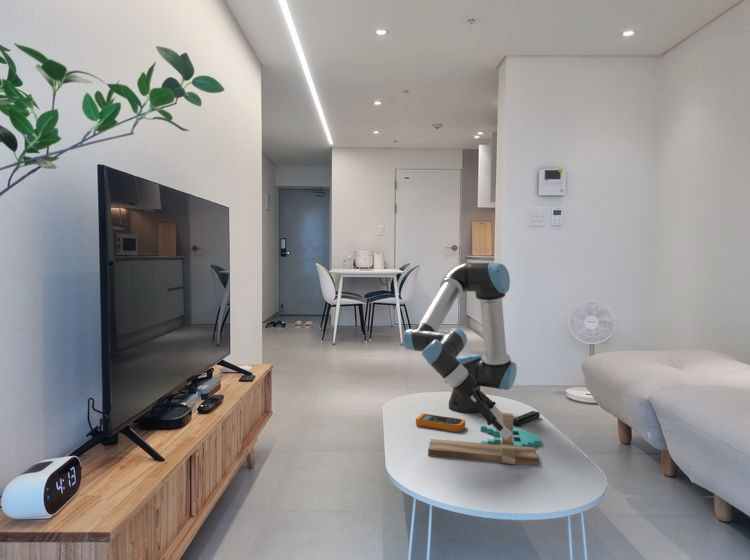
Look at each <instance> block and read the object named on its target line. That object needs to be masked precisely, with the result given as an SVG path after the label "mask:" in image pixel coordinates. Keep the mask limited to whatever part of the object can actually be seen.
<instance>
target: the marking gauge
mask: <svg viewBox="0 0 750 560" xmlns="http://www.w3.org/2000/svg"><path fill="white" fill-rule="evenodd" d="M502 413H503V424H504V425H505V426H506V428H507V429H508V430H509V431H510V432H511V433H512V435H511V436H510V437H508V438H507V439H506V440H505V439H504V438H503V436H502V438H500V437H499V438H500V447H501V454H502V462H501V464H511V465H515V464H516V463H515V446H514V441H513V427H514V426H513V419H514V413H511V412H510V413H508V412H502Z"/></svg>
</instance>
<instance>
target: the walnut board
mask: <svg viewBox="0 0 750 560" xmlns="http://www.w3.org/2000/svg"><path fill="white" fill-rule="evenodd" d="M428 445H429V446H428V450H427V456H431V457H440V456H441V457H442V458H453V459H462V460H463V459H465V460H475V461H487V462H497V463H502V454H501V447H500V445H498V444H486V443H481V442H472V441H460V440H450V439H448V440H447V439H435V438H431V439H430V441H429V444H428ZM515 464H520V465H530V466H531V465H532V466H539V456H538V454H537V451H536V448H534V447H522V446H515Z"/></svg>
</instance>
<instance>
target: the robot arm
mask: <svg viewBox="0 0 750 560" xmlns="http://www.w3.org/2000/svg"><path fill="white" fill-rule="evenodd" d="M510 277H511V276H510V274H509V271H508V269H507V267H506V265H505V264H503V263H501V262H500V263H498V262H497V263H496V262H464V263H462V264H459V265H458V266H457V265H456V266H455V267H454V268H452V269H451V270H450V271H449V272H448V273H447V274H446V275H445V276H444V277H443V278H442V280H441V281H440V284H439V285H440V286H439V287H440V288H439V289H438V291H437V293H436V294H435V296H434V298H433V299H432V300H431V303H430V304H429V306H428V307H427V309H426V311H424V313H423V316H422V317H421V319H420V321H418V323H417V325H416V326H415V328H409V329H407V330H405V331H404V333H403V335H402V344H403V346H404V348H405V349H406V350H409V351H414V352H421V356H422V357H423V358H424V359H425V360H426V362H427V363H428V365H430V366H431V367H432V368H433V369H434V370H435V371H436V372H437V374H439V376H441V378H442V379H443V380H444V383H445V384H448V385H449V386H450V388H452V391H451V395H450V397H449V400H448V409H450V410H452V411H454V412H460V413H470V414H473V413H479V414H480V416H482V417H483V418H484V420H485V421H486V422H487V423H486V425H487V426H492V427H493V429H495V430H497V431H498V432H499V433H500V434H501V435H502V436H503V438H504V439H505V440H506V439H507V438H508V437H510V436H511V435H512V433H511V432H510V431H509V430H508V429H507V428H506V426H505V425H504V424H503V413H504V412H502V411H501V410H500V409H499V408H498V407H497V406H496V404H497V403H496V401H493V400H492V399H490V398H489V397H488V396H487V395H486V394H485V393H484V392H483V391H481V387H482V388H489V389H496V390H505V391H508V390H509V391H510V390H511V388H512V387H513V385H514V383H515V380H516V377H517V370H518V369H517V368H518V367H517V363H516V362H514V361H512V360H511V355H510V354H509V353H507V345H506V332H505V320H504V308H503V299H504V298H505V297H506V294H507V293H508V292H509V290H510V288H511V287H510V286H511V285H510V283H511V279H510ZM465 292H471V293H472V292H473V293H475V298H476V300H479V303H480V314H481V325H482V334H483V345H484V355H483V356H481V354H480V353H479V354H478V353H468V354H460V353H461V352H462V351H463V350H464V349H465V347H466V345H467V343H468V336H467V334H466V332H464V331H463V330H462V329H460V328H457V327H456V328H451V329H449V330H448V331H447V332H444V331H439V330H440V328H441V326H442V325H443V322H444V321H445V319H446V318H447V316H448V314H449V313H450V310H451V309H452V307H453V305H454V304H455V302H456V301H457V298H459V297H461V296H462V294H463V293H465ZM459 354H460V355H459Z"/></svg>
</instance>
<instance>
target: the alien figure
mask: <svg viewBox="0 0 750 560" xmlns="http://www.w3.org/2000/svg"><path fill="white" fill-rule="evenodd" d="M518 428H519V427H515V426H513V441H514V446H522V447H534V448H535V447H541V438H540V436H539V434H532V432H529V431H525V430H524V429H518ZM483 431H487V432H486V434H487V433H490V434H489V435H493V438H492V439H491V438H487V440H480V443H486V444H498V445H500V438H502V435H501V434H500V433H499V432H498V431H497V430H496V429H495V428H494V427H493V426H492V427H491V426H488V424H480V432H483ZM497 436H500V437H497ZM535 449H536V448H535Z"/></svg>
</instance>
